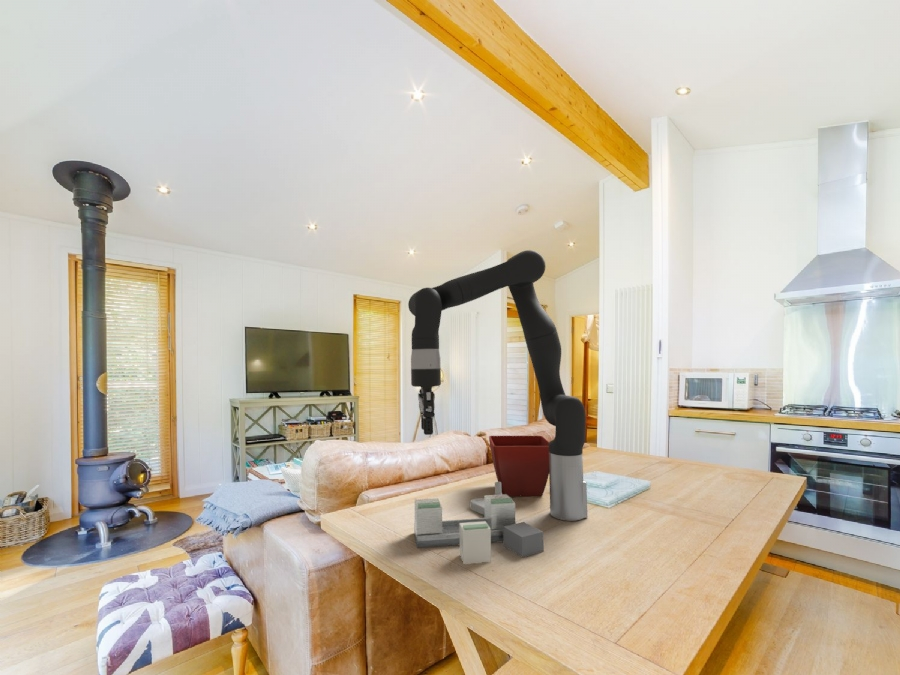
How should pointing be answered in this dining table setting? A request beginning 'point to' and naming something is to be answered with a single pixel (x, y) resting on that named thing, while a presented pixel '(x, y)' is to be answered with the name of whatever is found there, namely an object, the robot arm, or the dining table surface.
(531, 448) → the plant pot
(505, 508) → the rail board
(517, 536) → the block
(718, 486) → the dining table surface
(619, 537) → the dining table surface
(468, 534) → the block
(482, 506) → the electronic device
